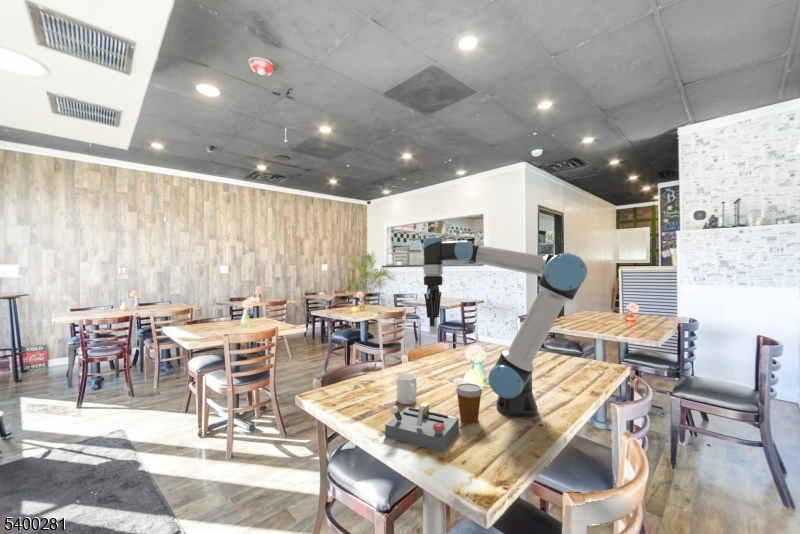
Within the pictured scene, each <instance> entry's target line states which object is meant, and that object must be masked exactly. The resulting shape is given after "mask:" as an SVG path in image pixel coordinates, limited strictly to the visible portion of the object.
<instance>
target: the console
mask: <svg viewBox="0 0 800 534" xmlns="http://www.w3.org/2000/svg"><path fill="white" fill-rule="evenodd" d="M399 412H400V415H401V417H402V419H401V421H398V420H397V419H396V417H395V416H394V417H393V418H391V419H390V420H389V421H388V422H387V423H386V424H384V427H385V428H384V437H385V438H388V439H391V440H392V439H393V440H395V441H399V442H403V443H407V444H410V445H414V446H417V447H422V448H425V449H429V450H433V451H437V452H440V453H443V451H444V450H445V449H446V448H447V446H448V445H449V443H450V442H451V441H452V440H453V438H454V437H455V436H456V434H457V433H458V431H460V428H459V427H460V418H459V417H457V416H451V415H447V414H442V413H437V412H432V411H429V414H428V415H427V416H423V421H422V427H420V426H416V424H417V418H418V412H419V409H418V408H414V407H409V406H406V407H405V408H404V409H402V411H399ZM434 423H442V424H444V425H445V430H444V431H443V435H441V436H438V435H436V434H435V430H434V429H433V424H434Z"/></svg>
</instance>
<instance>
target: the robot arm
mask: <svg viewBox="0 0 800 534" xmlns="http://www.w3.org/2000/svg"><path fill="white" fill-rule="evenodd" d="M422 249H423V267H422V270H423V274H424V276H423V285H424V286H427V288H426V293H424V294H423V295H424V296H423V297H424V299H425V300H424V301H425V308H426V317H427V318H429V335H438V318H440V312H441V311H440V310H441V308H440V307H441V298H442V294H443V293H442V291H440V287H439V286H442V285H443V276H442V275H443V261H464V262H468V263H473V264H474V263H475V264H480V265H484V266H489V267H494V268H499V269H505V270H510V271H512V272H513V271H515V272H519V273H523V274H528V275H529V274H530V275H533V276H539V277H540V279H539V280H538V284H537V285H538V289H539V291H538V294H537V296H536V298H535V299H534V301H533V303H532V304H531V306H530V309H529V310H528V313H527V315H526V317H525V318H524V319H523V322H522V323H521V325H520V328H519V330H518V331H517V333H516V335H515V337H514V338H513V341H512V342H511V345H510V347H509V348H508V349H505V350H504V349H502V350H501V352H500V355H499V357H498V359H497V361H496V363H495V365H494V366H493V367H492V368H491V369H490V371H489V374H488V383H489V386H490V389H491V390H492V391H493V392H494V393H495V394H496V396H498V397H497V398H496V399H497V400H496V410H497V411H498V412H500V413H501V414H503V415H505V416H508V417H511V418H516V419H529V418H533V417H536V416H537V415H538V405H537V402H536V398H535V396H534V394H533V393H534V392H533V371H534V370H535V368H534V365H533V362H534V360H535V358H536V356H537V354H538V352H539V350H540V349H541V348H542V345H543V343H544V342H545V340H546V338H547V336H548V334H549V332H550V330H551V329H552V327H553V325H554V324H555V321H556V320H557V319H558V317H559V314H560V313H561V311H562V309H563V307H564V305H565V304H566V303H567V302H571V301H574V298H575V296H576V294H577V292H579V289H580V288H581V286H582V284H583V283H584V281H586V280H585V279H586V278H587V274H588V268H587V265H586V263H585V261H584V260H583V259H582V258H581V257H579V256H578V255H576V254H574V253H570V252H565V253H564V252H563V253H558V254H556V255H555V254H551V253H550V254H548V253H547V254H546V255H538V254H533V253H526V252H523V251H522V252H521V251H516V250H508V249H504V248H498V247H492V246H487V245H479V244H475V243H472V242H471V241H470V240H454V241H453V240H452V241H443V237H441V236H428V237H425V238H424V239H423V248H422ZM427 318H426V319H427Z"/></svg>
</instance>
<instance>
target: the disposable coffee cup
mask: <svg viewBox="0 0 800 534" xmlns="http://www.w3.org/2000/svg"><path fill="white" fill-rule="evenodd" d="M455 391H456V394H457V396H456V397H457V400H458V401H457V402H458V410H459V417H460V418H459V420H460V421H461V422H462V423H465V424H468V425H469V424H476V423H478V421H479V415H480V408H481V407H480V406H481V397H482V394H483V390H482V388H481V386H480V385H478V384H475V383H469V382H467V383H464V382H463V383H459V384H458V385H457V386H456V389H455Z"/></svg>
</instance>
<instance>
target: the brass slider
mask: <svg viewBox="0 0 800 534" xmlns="http://www.w3.org/2000/svg"><path fill="white" fill-rule="evenodd" d="M421 405H424V406H425V411H424V415H423V416H427V415H428V414H429V412H430V403H428V402H423V403H422V404H421Z"/></svg>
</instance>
